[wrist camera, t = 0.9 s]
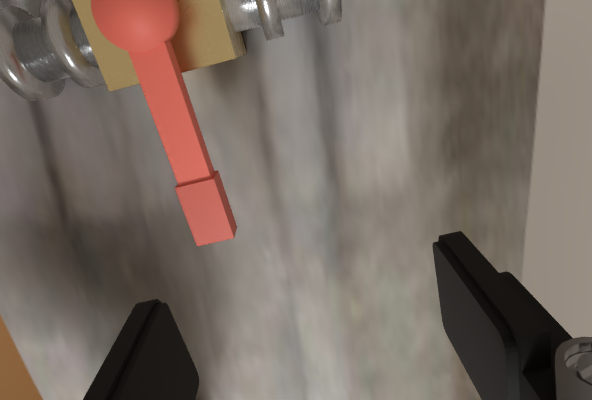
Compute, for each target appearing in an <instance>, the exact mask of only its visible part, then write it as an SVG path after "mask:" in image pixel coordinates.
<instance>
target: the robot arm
mask: <svg viewBox="0 0 592 400" xmlns="http://www.w3.org/2000/svg"><path fill="white" fill-rule="evenodd" d="M433 253H434V261H435V269H436V276H437V284H438V291H439V299H440V307H441V314H442V321H443V326H444V329H445V332H446V334H447V336H448V338H449V340H450V341H451V343H452V345H453V347H454V349H455V351H456V353H457V354H458V356H459V358H460V360H461V362H462V364H463V366H464V367H465V369H466V371H467V373H468V375H469V377H470V379H471V380H472V382H473V384H474V386H475V388H476V390H477V392H478V393H479V395H480V397H481V399H482V400H592V337H579V338H572V337H571V336H570V335H569V334H568V333H567V332H566V331H565V330H564V328H563V327H562V326H561V325H560V324H559V323H558V322H557V321H556V320H555V319H554V318H553V317H552V316H551V315H550V314H549V313H548V312H547V311H546V310H545V309H544V308H543V307H542V305H541V304H540V303H539V302H538V301H537V300H536V299H535V298H534V297H533V296H532V295H531V294H530V293H529V292H528V290H526V289H525V287H524V286H523V285H522V284H521V283H520V282H519V281H518V280H517V279H516V278H515V277H514V276H513V275H512V274H511V273H510V272H502V273H498V272H497V270H496V269H495V268H494V267H493V266H492V265H491V264H490V263H489V262H488V260H487V259H486V258H485V257H484V256H483V255H482V254H481V253H480V252H479V250H478V249H477V248H476V247H475V246H474V245H473V244H472V243H471V241H470V240H469V239H468V238H467V237H466V236H465V235H464V234H463V233H462V232H461V231H458V232H454V233H449V234H445V235H440V236H439V241H438V242H434V243H433ZM198 386H199V377H198V373H197V370H196V368H195V366H194V363H193V361H192V359H191V356H190V354H189V352H188V350H187V347H186V345H185V343H184V341H183V338H182V336H181V334H180V332H179V329H178V327H177V325H176V323H175V320H174V318H173V316H172V314H171V311H170V309H169V307H168V305H167V304H166V303H161V302H160V301H159V300H158V299H155V300H150V301H146V302H141V303H138V304H136V305H135V307H134V308H133V310H132V312H131V314H130V316H129V317H128V319H127V321H126V323H125V325H124V326H123V328H122V330H121V332H120V334H119V335H118V337H117V339H116V341H115V343H114V344H113V346H112V348H111V350H110V352H109V353H108V355H107V357H106V359H105V361H104V362H103V364H102V366H101V368H100V370H99V372H98V373H97V375H96V377H95V379H94V381H93V382H92V384H91V386H90V388H89V390H88V391H87V393H86V395H85V397H84V399H83V400H195V398H196V394H197V390H198Z"/></svg>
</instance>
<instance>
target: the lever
mask: <svg viewBox="0 0 592 400" xmlns="http://www.w3.org/2000/svg"><path fill="white" fill-rule="evenodd" d="M91 10H92V14H93V17H94V20H95V23H96V25H97V27H98V28H99V30H100V31H101V33H102V34H103V35H104V36H105V37H106V38H107V40H109V41H110V42H111V43H112V44H114V45H115V46H117V47H119V48H121V49H123V50H126V51H128V53H129V55H130V58H131V61H132V63H133V66H134V69H135V71H136V74H137V77H138V79H139V82H140V85H141V87H142V90H143V93H144V95H145V98H146V101H147V103H148V106H149V108H150V111H151V114H152V116H153V119H154V122H155V124H156V127H157V130H158V132H159V135H160V138H161V140H162V143H163V146H164V148H165V151H166V153H167V156H168V159H169V161H170V164H171V167H172V169H173V172H174V175H175V177H176V180H177V183H178V185H177V186H176V187H175V190H176V193H177V195H178V198H179V200H180V203H181V206H182V208H183V211H184V214H185V216H186V219H187V221H188V224H189V227H190V229H191V232H192V234H193V237H194V240H195V242H196V245H197V246H201V245H206V244H210V243H214V242H219V241H223V240H227V239H232V238H234V236H235V232H236V228H237V226H236V223H235V220H234V217H233V214H232V211H231V208H230V205H229V202H228V199H227V196H226V193H225V190H224V187H223V184H222V181H221V178H220V175H219V172H218V171H214V169H213V166H212V163H211V160H210V157H209V154H208V151H207V148H206V145H205V142H204V139H203V136H202V134H201V131H200V128H199V125H198V122H197V119H196V116H195V113H194V110H193V107H192V104H191V101H190V98H189V95H188V92H187V89H186V86H185V83H184V80H183V77H182V74H181V71H180V68H179V65H178V62H177V59H176V56H175V53H174V50H173V47H172V45H171V42H170V41H171V40H172V38H173V37H174V35H175V34H176V31H177V29H178V25H179V18H180V15H179V6H178V2H177V0H91Z"/></svg>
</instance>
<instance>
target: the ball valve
mask: <svg viewBox="0 0 592 400" xmlns="http://www.w3.org/2000/svg"><path fill="white" fill-rule="evenodd" d="M177 2H178V6H179V15H180V18H179V25H178V29H177V31H176V34H175V35H174V37H173V38H172V40H171V41H170V42H171V45H172V47H173V50H174V53H175V56H176V59H177V62H178V65H179V68H180V71H181V73H182V72H186V71H190V70H194V69H197V68H201V67H205V66H209V65H213V64H217V63H220V62H224V61H228V60H232V59H236V58H238V57H240V56H242V55H244V54H246V53H247V52H246V48H245V45H244V41H243V37H242V34H241V31H244V30H248V29H252V28H255V27H259V26H263V30H264V33H265V36H266V39H267V41H268V40H272V39H276V38H279V37H283V36H284V32H283V28H282V24H281V21H282V20H285V19H289V18H293V17H297V16H300V15H304V14H308V13H312V12H315V11H317V13H318V17H319V20H320V23H321V25H322V26H325V25H329V24H333V23H336V22H340V21H341V17H342V7H341V0H177ZM0 77H1V78H2V79H3V81H4V82H5V83H6V84H7V85H8V86H9V87H10V88H11V89H12V90H13V91H14V92H16V93H17V94H18V95H20V96H22V97H23V98H25V99H28V100H31V101H41V100H44V99H48V98H52V97H56V96H58V95H59V94H60V93H61V92H62V90H63V88H64V83H65V78H68V77H71V78H72V79H73V80H74V81H75V82H76V83H78V84H79V85H81V86H83V87H88V88H89V87H94V86H97V85H101V84H105V83H106V85H107V87H108V90H109V92H110V91H114V90H117V89H121V88H125V87H129V86H133V85H136V84H140V82H139V79H138V77H137V74H136V71H135V69H134V66H133V63H132V61H131V58H130V55H129V53H128V51H126V50H123V49H121V48H119V47H117V46H115V45H114V44H112V43H111V42H110V41H109V40H107V38H106V37H105V36H104V35H103V34H102V33H101V31H100V30H99V28H98V27H97V25H96V23H95V20H94V17H93V14H92V10H91V0H42V2H41V6H40V17H37V18H34V17H33V16H32V15H31V14H29V13H28V12H26V11H25V10H23V9H21V8H18V7H14V6H10V7H6V8H3V9H0Z"/></svg>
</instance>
